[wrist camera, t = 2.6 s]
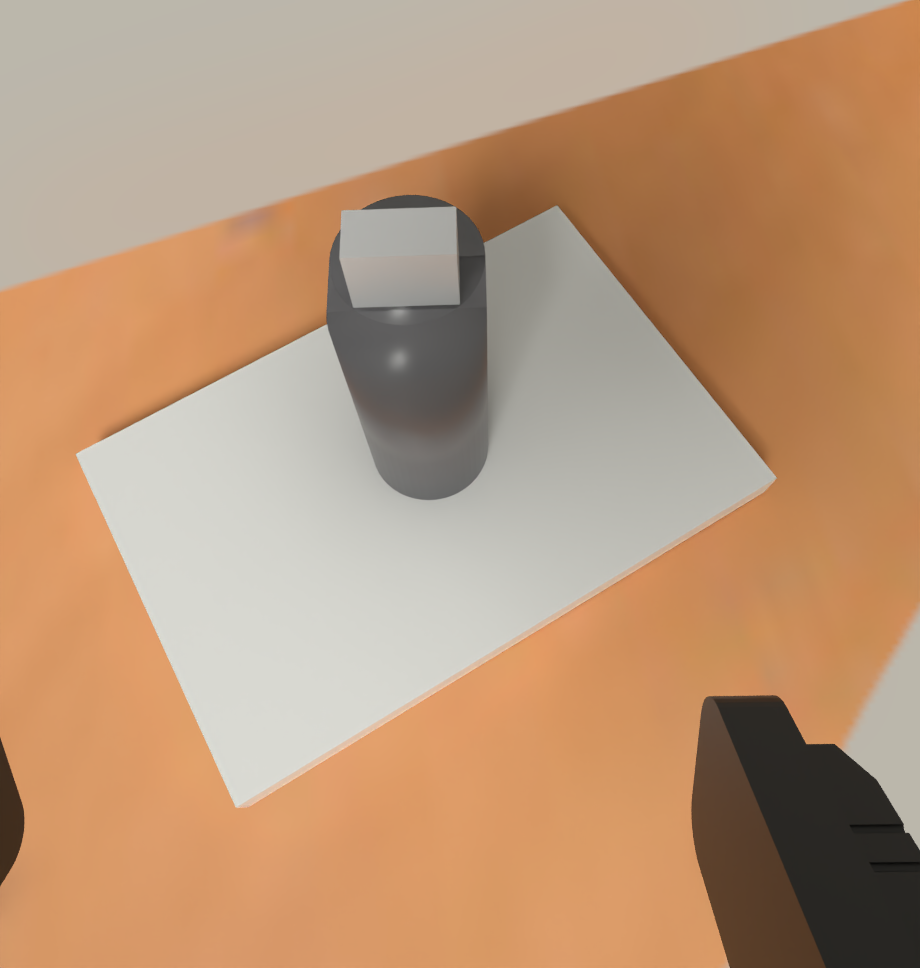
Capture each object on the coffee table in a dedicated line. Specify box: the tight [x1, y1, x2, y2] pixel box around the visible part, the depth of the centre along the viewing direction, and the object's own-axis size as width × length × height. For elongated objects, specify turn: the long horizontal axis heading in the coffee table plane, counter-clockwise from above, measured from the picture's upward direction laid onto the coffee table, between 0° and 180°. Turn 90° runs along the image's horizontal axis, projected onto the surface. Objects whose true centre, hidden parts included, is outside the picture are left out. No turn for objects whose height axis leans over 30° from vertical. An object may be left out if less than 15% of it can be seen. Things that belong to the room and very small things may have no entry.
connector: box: [327, 195, 488, 500], centre depth 21 cm, size 5×4×9 cm
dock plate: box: [76, 205, 777, 808], centre depth 26 cm, size 18×12×1 cm, turn 121°
